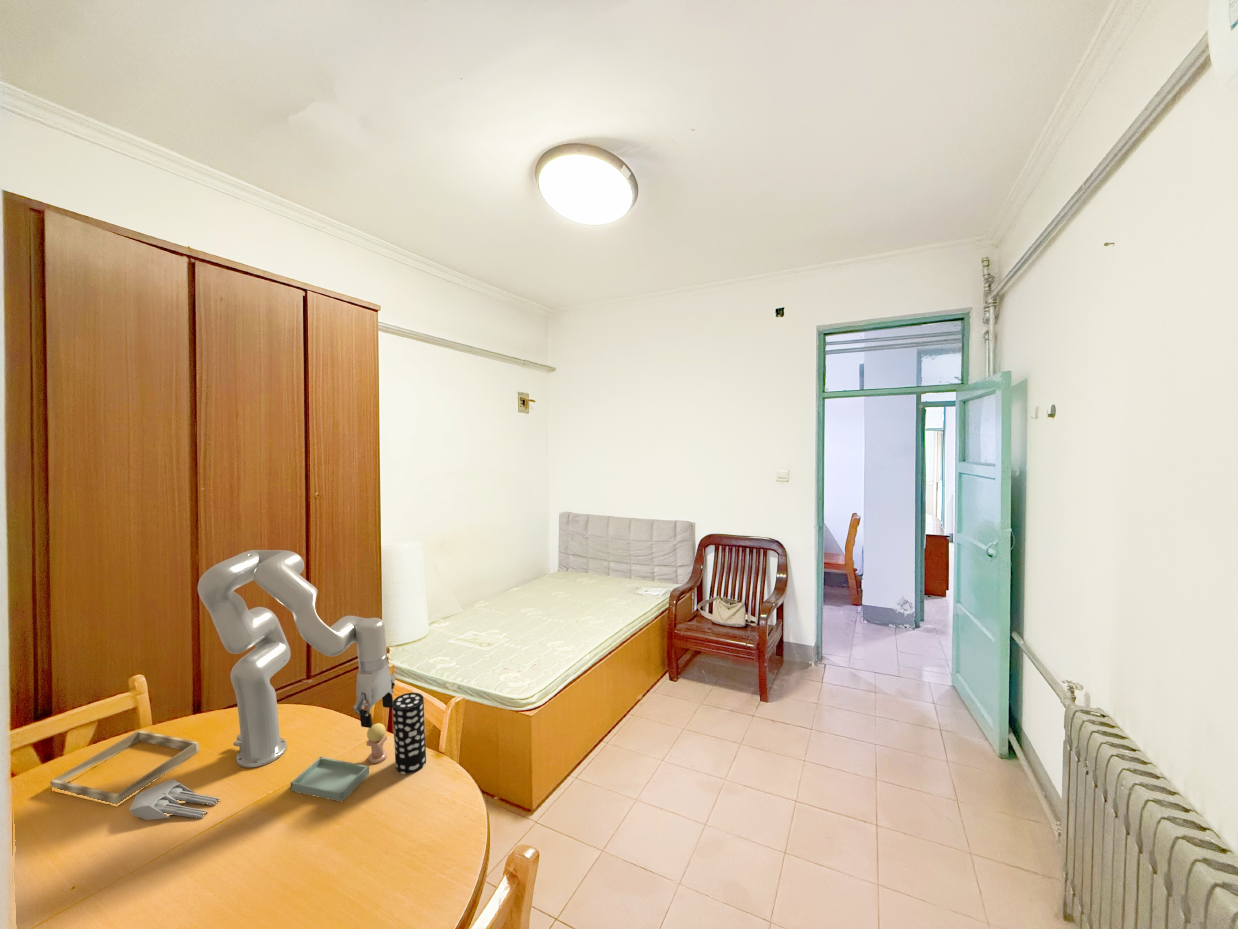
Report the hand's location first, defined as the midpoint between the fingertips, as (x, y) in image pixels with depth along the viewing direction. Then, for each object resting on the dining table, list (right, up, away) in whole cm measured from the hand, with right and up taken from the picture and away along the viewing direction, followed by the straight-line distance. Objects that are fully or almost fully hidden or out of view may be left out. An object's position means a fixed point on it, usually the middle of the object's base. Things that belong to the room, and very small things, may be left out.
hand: (377, 716), depth 164 cm
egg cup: (-1, -13, +2) cm, 13 cm away
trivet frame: (-68, -13, -5) cm, 70 cm away
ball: (-1, -7, +1) cm, 8 cm away
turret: (-45, -16, -18) cm, 51 cm away
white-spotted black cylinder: (+10, -14, 0) cm, 17 cm away
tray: (-9, -15, -8) cm, 19 cm away
